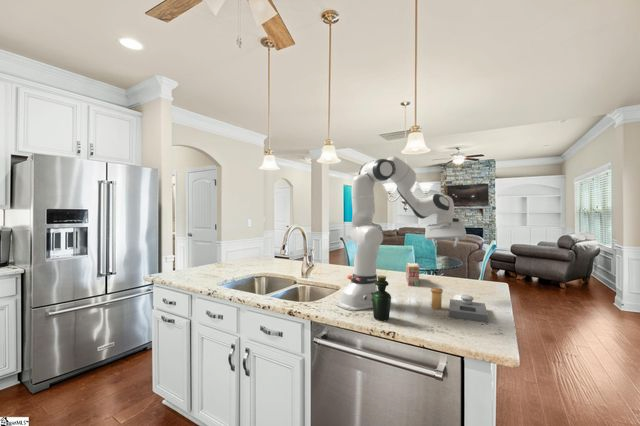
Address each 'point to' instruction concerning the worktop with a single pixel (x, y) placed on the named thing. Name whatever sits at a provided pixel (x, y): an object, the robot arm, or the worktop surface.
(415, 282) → the stack of blocks
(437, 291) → the mushroom head peg
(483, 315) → the gray peg hole board
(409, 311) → the worktop surface
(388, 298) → the potion bottle
